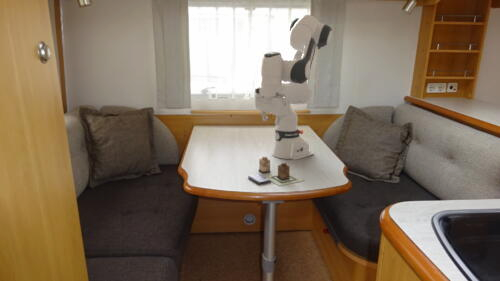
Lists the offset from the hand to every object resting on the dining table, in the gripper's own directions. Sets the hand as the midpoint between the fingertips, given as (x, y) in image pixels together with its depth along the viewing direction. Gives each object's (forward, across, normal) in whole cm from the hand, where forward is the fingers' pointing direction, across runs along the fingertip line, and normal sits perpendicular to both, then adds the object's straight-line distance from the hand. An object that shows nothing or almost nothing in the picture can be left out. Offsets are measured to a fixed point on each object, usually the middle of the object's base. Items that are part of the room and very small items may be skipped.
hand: (271, 122), depth 160 cm
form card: (+24, -8, -2) cm, 25 cm away
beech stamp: (+24, +4, 0) cm, 25 cm away
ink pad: (+24, -4, +8) cm, 26 cm away
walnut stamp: (+24, -8, -2) cm, 25 cm away
